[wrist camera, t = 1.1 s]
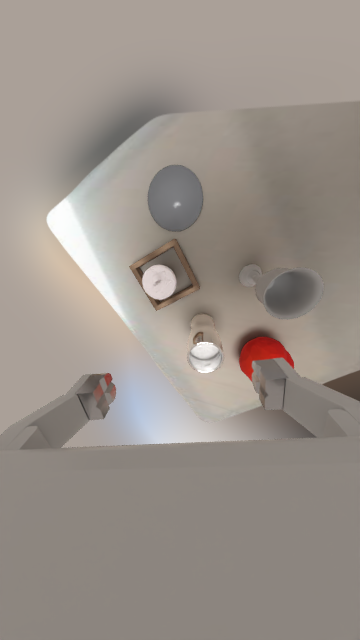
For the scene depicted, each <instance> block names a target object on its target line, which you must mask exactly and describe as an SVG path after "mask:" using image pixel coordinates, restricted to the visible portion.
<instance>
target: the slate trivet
mask: <svg viewBox="0 0 360 640" xmlns="http://www.w3.org/2000/svg"><path fill="white" fill-rule="evenodd" d="M202 203H203V193H202V187H201V184H200V182H199V180H198V178H197V177H196V175H195V174H194V173H193V172H192V171H191V170H189V169H188V168H186V167H184V166H181V165H171V166H167V167H165V168H163V169H162V170H160V171H159V172H158V173H157V174H156V175H155V177H154V178H153V180H152V182H151V184H150V187H149V191H148V205H149V209H150V212H151V215H152V217H153V218H154V220H155V221H156V222H157V223H158V224H159V225H160V226H161V227H163V228H164V229H166V230H169V231H182V230H185V229H187V228H188V227H190V226H191V225H192V224H193V223H194V222H195V221H196V219H197V218H198V216H199V214H200V211H201V208H202Z"/></svg>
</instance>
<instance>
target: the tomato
mask: <svg viewBox="0 0 360 640" xmlns="http://www.w3.org/2000/svg"><path fill="white" fill-rule="evenodd" d="M273 358H284V359H285V360H286V361H287V362H288V364H289V365H290V366H291V367H292V368H293V369H294V362H293V360H292V358H291V356H290V354H289V353H288V352H287V351H286V350H285V348H284V346H283V345H282V344H281V343H280V342H279V341H277V340H275V339H273V338H269V337H257V338H255V339H252V340H250V341H248V342H247V343H246V344H245V345H244V347H243V349H242V350H241V354H240V358H239V363H240V368H241V370H242V371H243V372H244V373H245V374H246V375H247V376H248V377H249V379H250V380H251V381H252V373H253V372H254V370H253V368H252V361H255V360H266V359H273Z"/></svg>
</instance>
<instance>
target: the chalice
mask: <svg viewBox="0 0 360 640" xmlns="http://www.w3.org/2000/svg"><path fill="white" fill-rule="evenodd" d="M239 281H240V283H241V284H242V285H243V286H246V287H252V286H255V285H256V288H255V290H256V296H257V298H258V300H259V301H260V302H261V303H263V304H264V306H265V308H266V311H267V312H268V313H269V314H270V315H272V316H273V317H276V318H278V319H294V318H298V317H300V316H302V315H305V314H307V313H308V312H309V311H311V310H312V309H313V308H314V307H315V306H316V305H317V304H318V302H319V301H320V299H321V297H322V295H323V291H324V283H323V280H322V277H321V276H320V275H319V274H318V273H317V272H316V271H314V270H312V269H309V268H300V267H298V268H293V269H287V268H277V269H273V270H271V271H269V272H267V273H265V274H263V275H262V271H261V268H260V267H259V266H257V265H254V264H250V265H247V266H245V267H244V268H243V269H242V270H241V272H240V274H239Z"/></svg>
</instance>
